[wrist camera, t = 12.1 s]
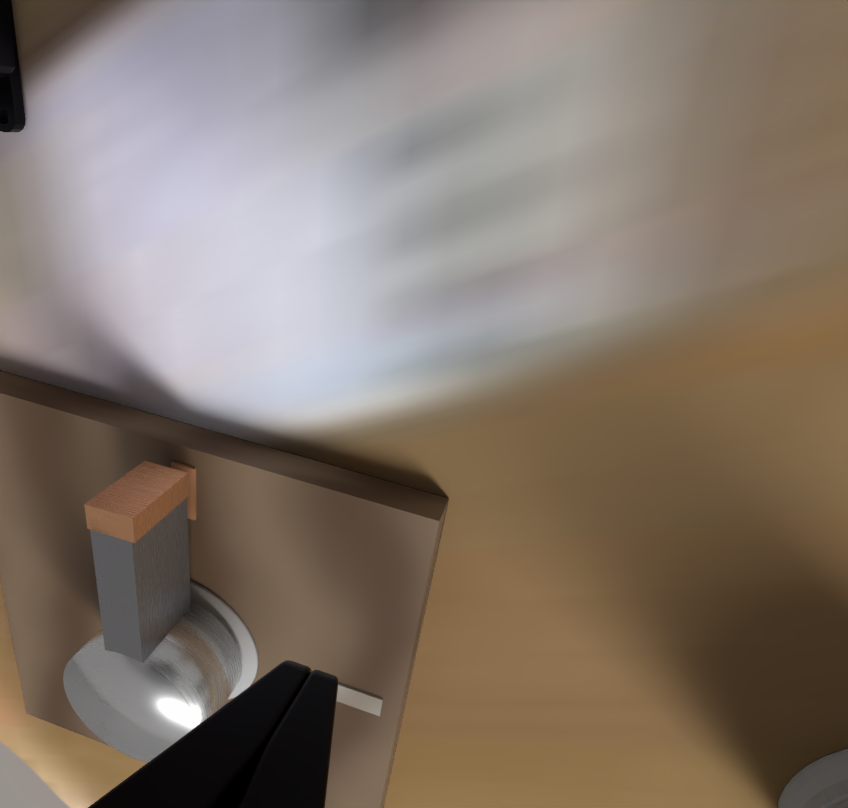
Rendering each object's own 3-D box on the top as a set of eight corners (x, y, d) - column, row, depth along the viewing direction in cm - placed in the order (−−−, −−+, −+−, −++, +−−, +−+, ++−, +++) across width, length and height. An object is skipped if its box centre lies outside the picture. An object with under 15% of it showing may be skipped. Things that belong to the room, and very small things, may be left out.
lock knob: (242, 714, 28) (199, 782, 25) (126, 673, 29) (72, 734, 26) (244, 483, 22) (190, 536, 19) (101, 443, 23) (30, 487, 20)
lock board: (48, 691, 35) (23, 716, 33) (-5, 369, 26) (-42, 383, 24) (381, 818, 31) (370, 852, 30) (448, 498, 23) (438, 524, 21)
